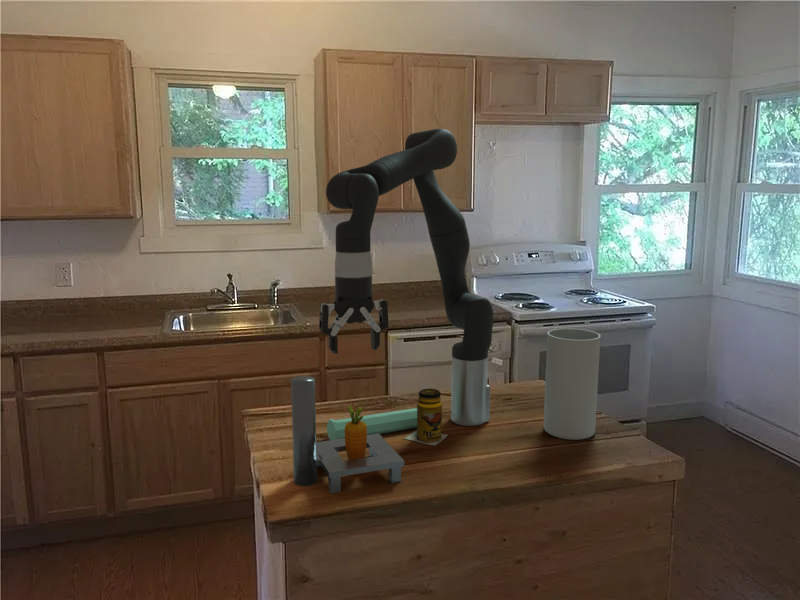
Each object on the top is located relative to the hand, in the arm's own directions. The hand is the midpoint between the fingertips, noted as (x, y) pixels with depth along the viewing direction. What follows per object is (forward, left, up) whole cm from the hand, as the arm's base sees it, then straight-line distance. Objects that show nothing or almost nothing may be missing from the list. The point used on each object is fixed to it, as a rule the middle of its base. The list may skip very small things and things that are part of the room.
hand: (354, 350), depth 137 cm
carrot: (0, 0, -27) cm, 27 cm away
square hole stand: (+3, 0, -27) cm, 27 cm away
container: (-12, -20, -28) cm, 36 cm away
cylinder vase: (-57, -4, -27) cm, 63 cm away
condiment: (-22, -13, -27) cm, 37 cm away
